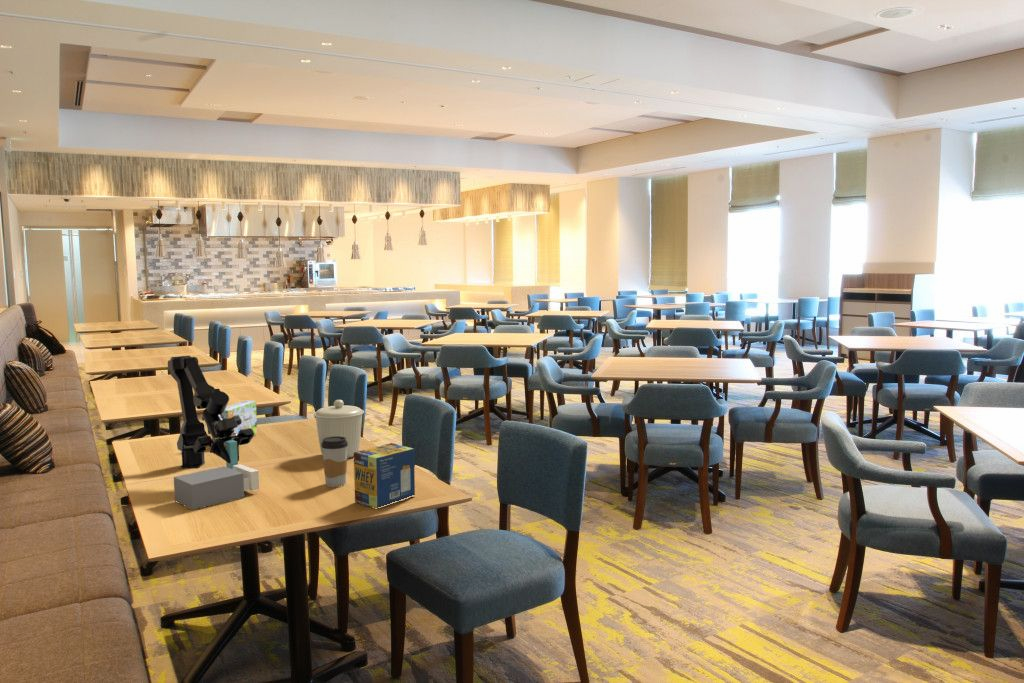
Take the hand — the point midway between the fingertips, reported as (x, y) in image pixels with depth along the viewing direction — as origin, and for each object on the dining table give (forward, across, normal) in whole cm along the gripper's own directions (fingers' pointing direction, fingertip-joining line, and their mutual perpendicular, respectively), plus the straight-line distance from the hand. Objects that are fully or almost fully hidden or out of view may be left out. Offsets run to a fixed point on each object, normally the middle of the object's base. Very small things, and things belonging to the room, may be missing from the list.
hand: (234, 461), depth 247 cm
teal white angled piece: (+8, -7, +1) cm, 11 cm away
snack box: (-33, +31, +45) cm, 64 cm away
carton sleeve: (+11, -12, +1) cm, 16 cm away
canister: (+2, +45, +10) cm, 46 cm away
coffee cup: (+22, +23, -10) cm, 33 cm away
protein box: (+40, +23, -28) cm, 54 cm away
